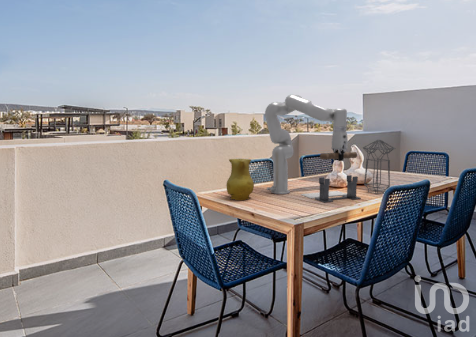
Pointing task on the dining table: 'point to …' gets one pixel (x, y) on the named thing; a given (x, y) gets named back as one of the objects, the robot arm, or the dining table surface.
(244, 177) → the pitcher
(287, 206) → the dining table surface
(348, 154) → the rod
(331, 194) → the mat
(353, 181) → the rack
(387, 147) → the geometric lantern
